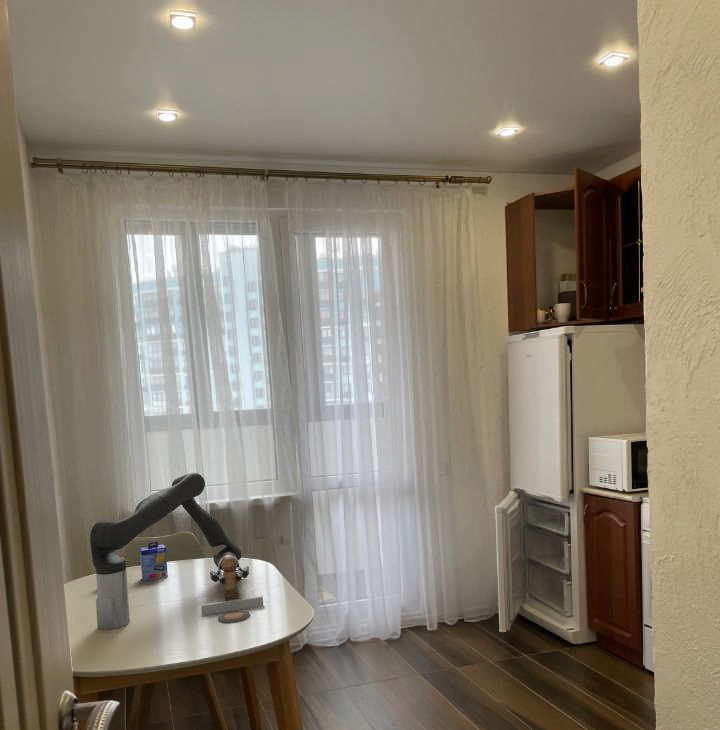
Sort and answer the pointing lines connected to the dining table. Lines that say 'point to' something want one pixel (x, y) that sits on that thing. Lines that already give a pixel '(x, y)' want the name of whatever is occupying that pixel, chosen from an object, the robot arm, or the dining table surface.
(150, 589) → the dining table surface
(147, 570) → the ink cartridge box
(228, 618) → the pad
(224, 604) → the low wall
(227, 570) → the skittle
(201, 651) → the dining table surface
